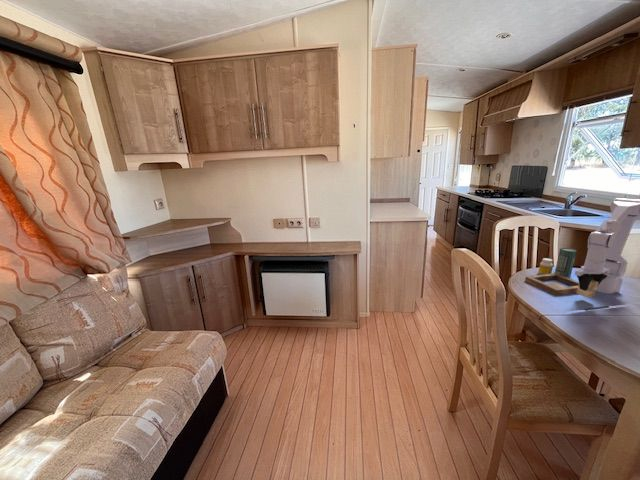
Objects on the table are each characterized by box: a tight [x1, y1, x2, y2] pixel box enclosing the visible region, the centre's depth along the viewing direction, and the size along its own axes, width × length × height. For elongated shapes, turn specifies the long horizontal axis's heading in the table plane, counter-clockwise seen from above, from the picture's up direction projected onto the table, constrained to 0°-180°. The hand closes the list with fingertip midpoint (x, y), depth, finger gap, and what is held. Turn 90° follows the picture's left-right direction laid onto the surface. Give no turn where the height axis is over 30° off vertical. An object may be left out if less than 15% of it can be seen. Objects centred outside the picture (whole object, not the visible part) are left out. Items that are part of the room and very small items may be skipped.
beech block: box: [576, 280, 598, 298], centre depth 113 cm, size 4×4×7 cm
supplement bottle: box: [537, 257, 554, 275], centre depth 141 cm, size 5×5×10 cm
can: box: [554, 247, 578, 277], centre depth 139 cm, size 6×6×15 cm
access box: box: [524, 272, 579, 296], centre depth 128 cm, size 18×16×4 cm
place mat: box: [584, 305, 610, 311], centre depth 115 cm, size 11×11×1 cm
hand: (587, 289), depth 113 cm, fingers closed on beech block, 4 cm apart
